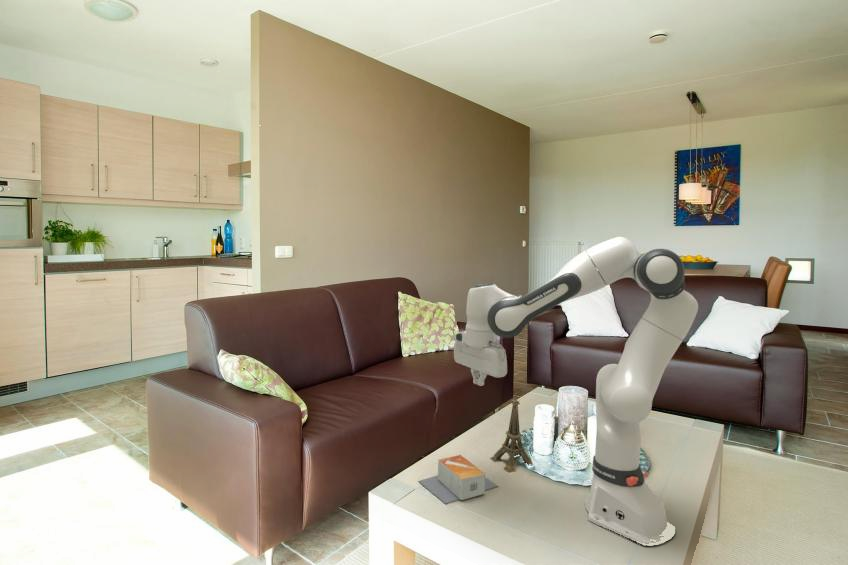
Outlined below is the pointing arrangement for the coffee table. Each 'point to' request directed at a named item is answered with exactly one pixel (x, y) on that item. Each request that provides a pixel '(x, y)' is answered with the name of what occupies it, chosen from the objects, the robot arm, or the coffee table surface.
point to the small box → (461, 477)
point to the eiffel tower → (512, 442)
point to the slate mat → (444, 492)
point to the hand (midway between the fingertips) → (478, 384)
